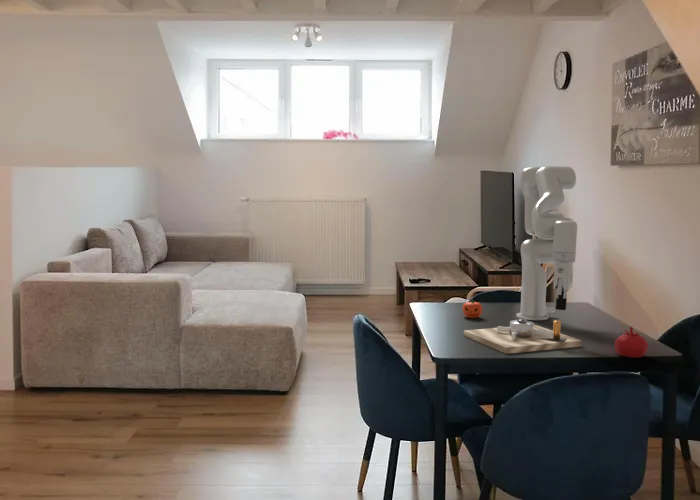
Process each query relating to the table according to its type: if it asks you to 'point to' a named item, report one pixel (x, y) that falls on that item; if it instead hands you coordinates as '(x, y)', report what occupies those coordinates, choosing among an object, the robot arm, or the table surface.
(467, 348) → the table surface
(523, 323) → the cylinder
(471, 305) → the pumpkin
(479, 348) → the table surface
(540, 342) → the wooden board
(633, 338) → the pomegranate
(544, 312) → the robot arm
